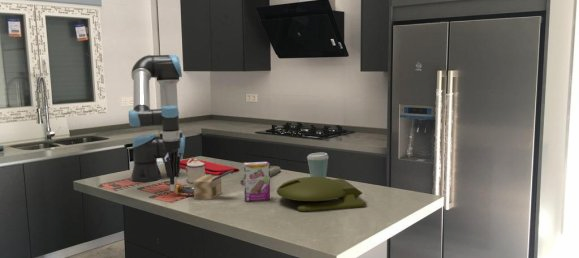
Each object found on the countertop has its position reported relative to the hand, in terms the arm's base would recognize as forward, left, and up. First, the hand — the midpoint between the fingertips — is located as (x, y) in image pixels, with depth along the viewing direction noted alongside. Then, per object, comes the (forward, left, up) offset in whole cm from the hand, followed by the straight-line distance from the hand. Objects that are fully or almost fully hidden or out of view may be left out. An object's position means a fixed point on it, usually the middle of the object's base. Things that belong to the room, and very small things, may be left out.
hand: (174, 190), depth 224 cm
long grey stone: (+4, +50, -3) cm, 50 cm away
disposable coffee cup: (+36, +59, -2) cm, 69 cm away
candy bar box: (+35, +20, -2) cm, 40 cm away
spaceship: (+55, +37, -3) cm, 66 cm away
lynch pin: (+7, +5, -2) cm, 9 cm away
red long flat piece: (-36, +43, -3) cm, 56 cm away
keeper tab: (+21, +12, +8) cm, 26 cm away
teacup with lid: (-16, +22, -2) cm, 28 cm away
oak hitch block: (+13, +10, -2) cm, 16 cm away
